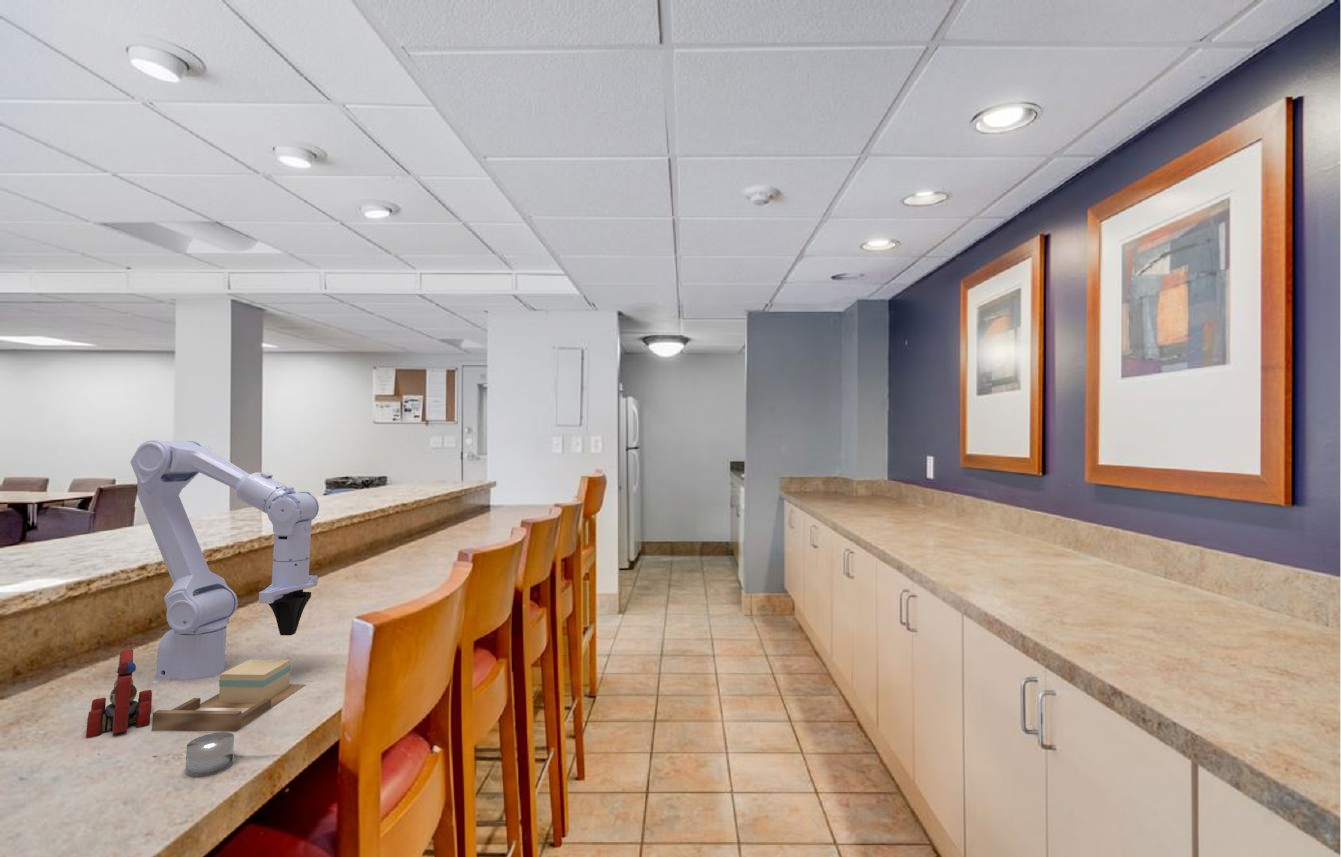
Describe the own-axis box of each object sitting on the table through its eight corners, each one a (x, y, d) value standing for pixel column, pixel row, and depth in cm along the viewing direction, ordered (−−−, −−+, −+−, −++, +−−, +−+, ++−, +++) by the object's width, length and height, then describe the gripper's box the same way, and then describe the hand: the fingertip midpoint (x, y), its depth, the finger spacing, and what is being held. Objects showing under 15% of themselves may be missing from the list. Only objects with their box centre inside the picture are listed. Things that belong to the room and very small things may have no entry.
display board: (151, 737, 88) (152, 712, 88) (236, 689, 106) (237, 669, 106) (235, 738, 88) (237, 713, 88) (306, 690, 106) (307, 669, 106)
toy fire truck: (83, 751, 83) (88, 674, 84) (91, 720, 93) (95, 651, 93) (149, 737, 88) (154, 664, 88) (151, 708, 97) (154, 643, 98)
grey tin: (175, 777, 77) (176, 749, 78) (204, 758, 82) (205, 732, 83) (215, 778, 78) (216, 750, 78) (241, 758, 83) (242, 732, 83)
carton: (218, 702, 98) (219, 674, 98) (247, 685, 105) (248, 659, 105) (262, 703, 98) (264, 674, 98) (289, 686, 105) (290, 660, 105)
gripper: (290, 566, 104) (286, 647, 103) (334, 553, 118) (331, 623, 117) (248, 566, 103) (243, 646, 103) (297, 552, 118) (294, 622, 117)
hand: (287, 634), depth 110 cm, fingers closed
